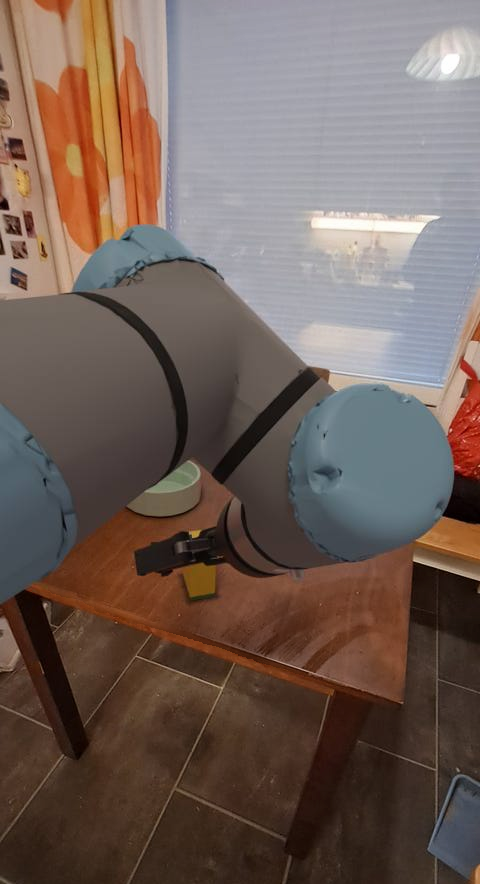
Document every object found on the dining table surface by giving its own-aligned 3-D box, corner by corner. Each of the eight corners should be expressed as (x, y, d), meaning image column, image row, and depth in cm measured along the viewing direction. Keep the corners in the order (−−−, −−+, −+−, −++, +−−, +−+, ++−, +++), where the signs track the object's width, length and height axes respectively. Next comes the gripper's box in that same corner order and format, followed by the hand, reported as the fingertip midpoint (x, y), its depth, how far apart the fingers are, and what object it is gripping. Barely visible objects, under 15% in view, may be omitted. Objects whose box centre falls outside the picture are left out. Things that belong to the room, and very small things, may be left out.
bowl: (112, 514, 83) (108, 488, 80) (135, 476, 96) (133, 452, 93) (193, 522, 83) (193, 496, 79) (205, 482, 96) (205, 458, 93)
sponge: (190, 601, 65) (189, 556, 60) (182, 576, 70) (181, 532, 65) (215, 596, 66) (216, 552, 61) (206, 572, 71) (206, 529, 66)
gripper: (110, 604, 28) (118, 605, 48) (421, 550, 35) (314, 571, 55) (95, 495, 29) (109, 541, 49) (401, 464, 36) (303, 515, 56)
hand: (217, 557), depth 52 cm, fingers open, 13 cm apart
